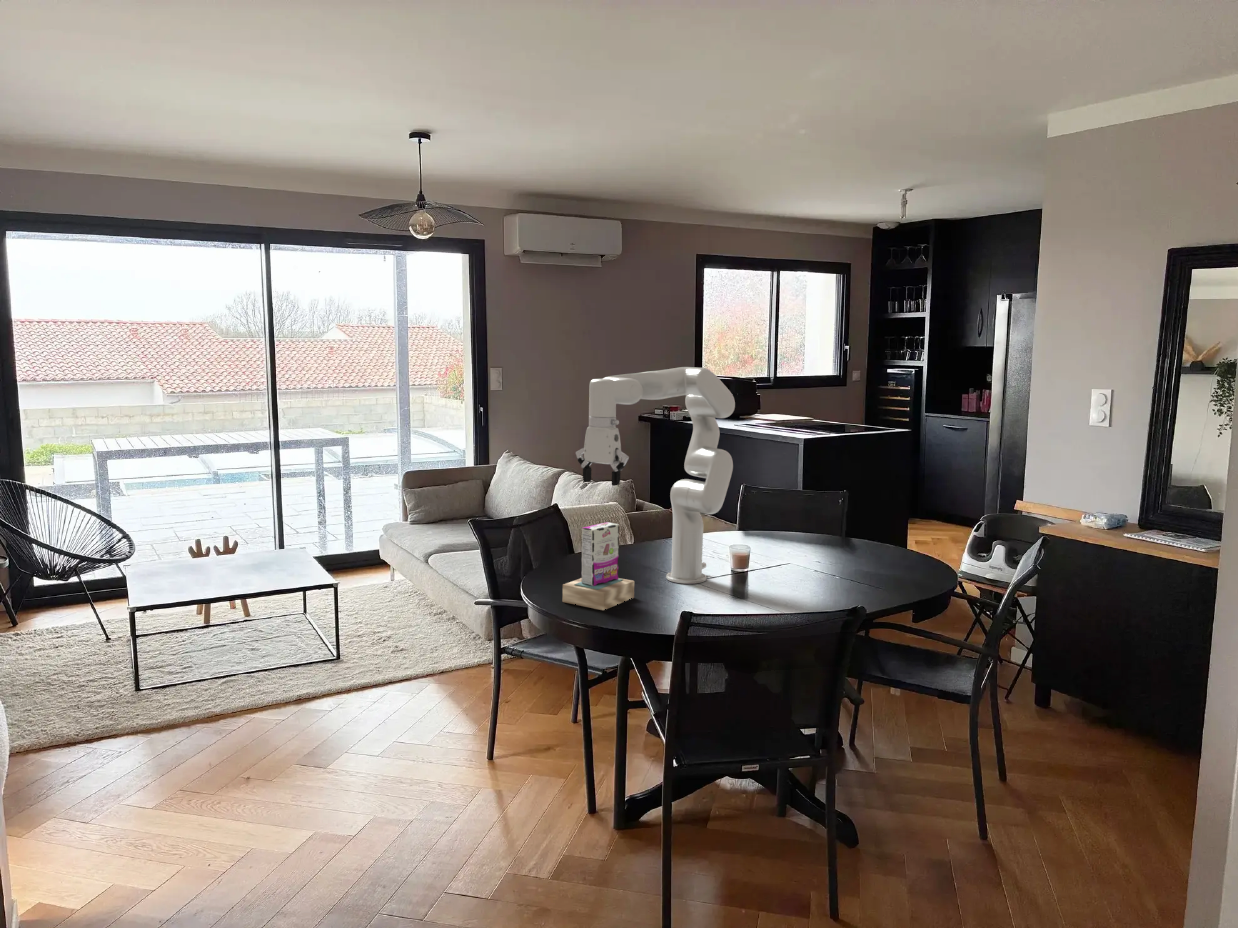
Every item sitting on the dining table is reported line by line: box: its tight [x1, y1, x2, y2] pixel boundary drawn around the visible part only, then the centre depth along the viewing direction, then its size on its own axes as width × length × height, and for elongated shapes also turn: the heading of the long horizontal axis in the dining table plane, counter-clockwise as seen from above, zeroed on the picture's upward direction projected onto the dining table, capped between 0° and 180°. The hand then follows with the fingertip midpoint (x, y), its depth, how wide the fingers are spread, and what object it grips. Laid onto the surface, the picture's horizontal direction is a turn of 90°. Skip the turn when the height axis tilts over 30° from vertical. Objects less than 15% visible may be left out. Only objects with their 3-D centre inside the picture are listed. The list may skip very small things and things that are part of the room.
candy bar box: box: [581, 521, 620, 586], centre depth 263 cm, size 11×5×16 cm, turn 139°
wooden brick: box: [561, 577, 635, 611], centre depth 264 cm, size 16×14×5 cm
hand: (601, 483), depth 260 cm, fingers open, 9 cm apart
